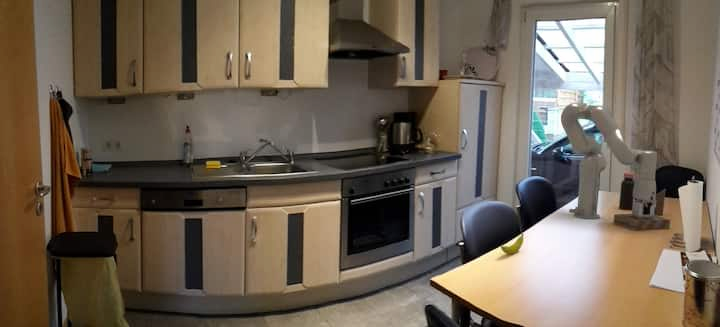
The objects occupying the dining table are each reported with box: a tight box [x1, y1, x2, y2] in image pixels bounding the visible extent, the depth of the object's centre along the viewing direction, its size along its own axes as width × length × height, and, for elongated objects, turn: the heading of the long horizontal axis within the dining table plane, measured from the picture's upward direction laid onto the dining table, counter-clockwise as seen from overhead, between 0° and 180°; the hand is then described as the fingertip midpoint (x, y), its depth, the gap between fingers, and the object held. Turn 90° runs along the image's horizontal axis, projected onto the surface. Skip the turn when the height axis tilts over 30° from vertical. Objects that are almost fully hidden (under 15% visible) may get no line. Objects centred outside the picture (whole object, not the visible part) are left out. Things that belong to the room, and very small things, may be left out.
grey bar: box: [631, 200, 656, 219], centre depth 259 cm, size 9×4×8 cm, turn 105°
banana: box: [500, 233, 525, 255], centre depth 210 cm, size 3×19×6 cm, turn 139°
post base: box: [613, 213, 671, 232], centre depth 260 cm, size 20×14×4 cm
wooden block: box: [643, 188, 667, 217], centre depth 287 cm, size 4×11×18 cm, turn 55°
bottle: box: [618, 172, 635, 211], centre depth 297 cm, size 7×7×20 cm
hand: (642, 213), depth 259 cm, fingers closed on grey bar, 4 cm apart
